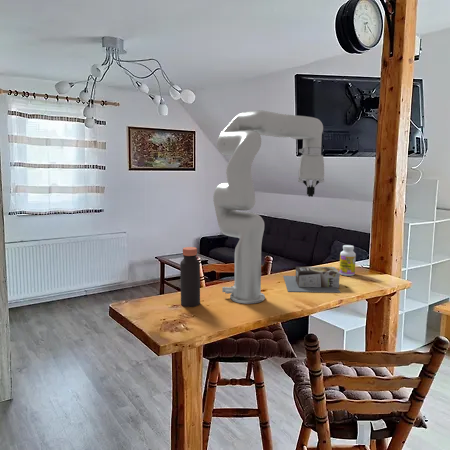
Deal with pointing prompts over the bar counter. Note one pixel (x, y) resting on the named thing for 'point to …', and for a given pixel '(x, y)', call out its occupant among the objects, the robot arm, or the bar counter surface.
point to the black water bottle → (190, 278)
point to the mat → (293, 287)
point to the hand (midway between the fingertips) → (310, 196)
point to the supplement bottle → (347, 261)
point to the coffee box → (317, 277)
